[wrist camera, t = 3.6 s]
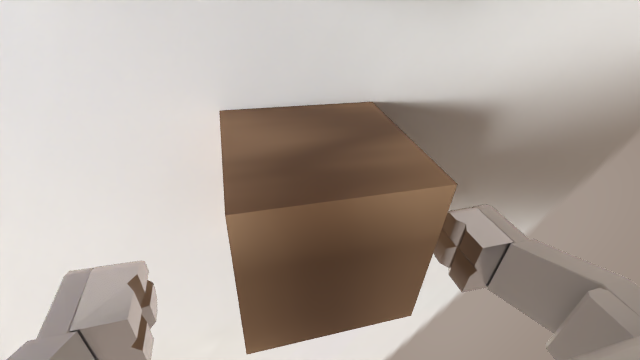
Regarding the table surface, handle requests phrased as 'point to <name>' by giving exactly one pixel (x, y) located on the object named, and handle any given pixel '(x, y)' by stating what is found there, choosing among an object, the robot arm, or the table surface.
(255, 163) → the walnut block
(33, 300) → the table surface
